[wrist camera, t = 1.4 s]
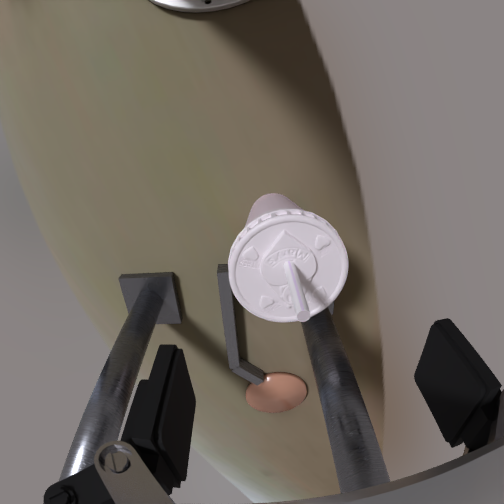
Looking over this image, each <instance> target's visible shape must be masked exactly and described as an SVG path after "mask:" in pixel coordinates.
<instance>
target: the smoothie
mask: <svg viewBox="0 0 504 504" xmlns="http://www.w3.org/2000/svg"><path fill="white" fill-rule="evenodd" d="M228 269H229V282H230V286H231V289H232V291H233V293H234V295H235V297H236V299H237V300H238V301H239V303H240V304H241V305H242V306H243V307H244V308H245V309H247V310H248V311H249V312H251V313H252V314H254V315H256V316H258V317H260V318H263V319H266V320H269V321H274V322H294V321H301V322H305V321H307V320H309V318H310V317H312V316H314V315H316V314H318V313H319V312H321V311H322V310H324V309H325V308H327V307H328V306H329V305H330V304H331V303H332V302H333V301H334V300H335V299H336V298H337V296H338V295H339V293H340V292H341V290H342V288H343V286H344V284H345V281H346V278H347V274H348V256H347V251H346V248H345V246H344V244H343V242H342V240H341V238H340V237H339V235H338V233H337V231H336V230H335V229H334V228H333V227H332V226H331V225H330V224H329V223H328V222H327V221H326V220H325V219H323V218H321V217H320V216H318V215H316V214H314V213H312V212H308V211H304V210H303V209H302V208H300V207H299V206H298V205H297V204H295V203H294V202H293V201H291V200H290V199H289V198H287V197H286V196H284V195H282V194H277V193H270V194H266V195H263V196H262V197H260V198H259V199H257V200H256V202H255V203H254V204H253V206H252V208H251V211H250V214H249V217H248V219H247V222H246V225H245V228H244V229H243V230H242V231H241V232H240V233H239V234H238V236H237V238H236V240H235V241H234V243H233V245H232V247H231V250H230V255H229V259H228Z"/></svg>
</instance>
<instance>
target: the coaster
mask: <svg viewBox="0 0 504 504" xmlns="http://www.w3.org/2000/svg"><path fill="white" fill-rule="evenodd" d="M263 376H264V381H263V382H262V383H260V384H259V385H258V386H257V385H255V384H253V383H252V382H251V383H250V384H249V385H248V387H247V389H246V400H247V402H248V403H249V405H250V406H252V407H253V408H255V409H257V410H259V411H262V412H269V413H277V412H283V411H287V410H290V409H292V408H294V407H296V406H298V405H299V404H300V403H301V402H302V401H303V400H304V399H305V397H306V394H307V390H306V385H305V383H304V381H303V380H302V379H301V378H300V377H298V376H296V375H294V374H291V373H285V372H274V373H268V374H265V375H263Z"/></svg>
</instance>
